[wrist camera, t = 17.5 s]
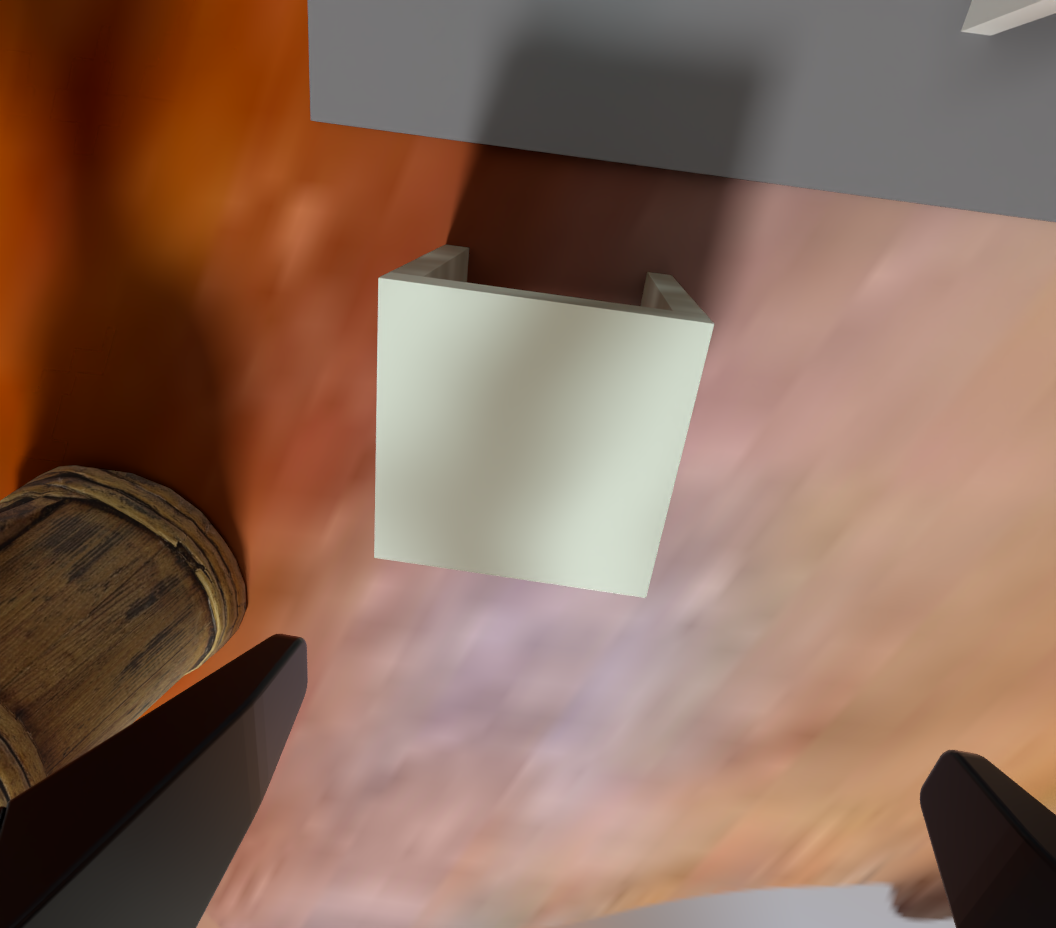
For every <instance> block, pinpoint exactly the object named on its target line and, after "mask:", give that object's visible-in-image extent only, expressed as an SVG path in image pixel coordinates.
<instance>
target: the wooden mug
mask: <svg viewBox="0 0 1056 928" xmlns="http://www.w3.org/2000/svg"><path fill="white" fill-rule="evenodd" d="M245 611H246V595H245V584H244V581H243V578H242V575H241V572H240V569H239V566H238V563H237V561H236V558H235V557H234V555H233V554H232V552H231V550H230V549H229V547H228V546H227V544H226V543H225V541H224V540H223V538H222V537H221V536H220V535H219V533H218V532H217V531H216V529H215V528H214V527H213V526H212V524H211V523H210V522H209V520H208V519H207V518H206V517H205V515H204V514H203V513H202V512H201V511H200V510H198V509H197V508H196V507H194V506H193V505H192V504H190V503H189V502H188V501H186V500H185V499H184V498H182V497H181V496H180V495H178V494H177V493H175V492H174V491H173V490H171V489H170V488H168V487H165V486H163V485H160V484H158V483H155V482H153V481H150V480H148V479H145V478H143V477H140V476H138V475H135V474H133V473H127V472H120V471H112V470H105V469H98V468H90V467H83V466H76V465H71V466H59V467H57V468H55V469H52V470H50V471H48V472H46V473H43V474H41V475H39V476H37V477H36V478H34V479H33V480H31V481H30V482H28V483H27V484H25V485H24V486H22V487H20V488H19V489H17V490H16V491H14V492H13V493H11V494H10V495H8V496H7V497H5V498H4V499H2V500H1V501H0V806H4V807H6V806H7V803H8V802H9V801H10V800H11V799H13V798H14V797H16V796H17V795H19V794H21V793H22V792H24V791H25V790H27V789H29V788H30V787H32V786H33V785H35V784H37V783H38V782H40V781H41V780H43V779H45V778H46V777H48V776H49V775H51V774H53V773H54V772H56V771H57V770H59V769H60V768H62V767H64V766H65V765H67V764H68V763H70V762H72V761H73V760H75V759H76V758H78V757H80V756H81V755H83V754H84V753H86V752H88V751H89V750H91V749H92V748H94V747H96V746H97V745H99V744H100V743H102V742H103V741H105V740H107V739H108V738H110V737H111V736H113V735H115V734H116V733H118V732H119V731H121V730H123V729H124V728H126V727H127V726H129V725H131V724H132V723H133V722H134V721H135V720H137V719H138V718H139V717H140V716H141V715H142V714H143V713H144V712H145V711H146V710H147V709H148V708H149V707H151V706H152V705H153V704H154V703H155V702H156V701H157V700H158V699H159V698H160V697H161V696H162V695H163V694H165V693H166V692H167V691H168V690H169V689H170V688H171V687H172V686H173V685H174V684H175V683H176V682H177V681H178V680H180V679H181V678H182V677H183V676H184V675H186V674H188V673H190V672H191V671H193V670H195V669H197V668H199V667H200V666H201V665H202V664H203V663H204V662H206V661H207V660H208V659H209V658H210V657H211V656H212V655H214V654H215V653H216V652H217V651H218V650H219V649H221V648H222V647H223V646H224V645H225V644H226V643H227V641H228V640H229V639H230V638H231V637H232V636H233V635H234V633H235V632H236V631H237V630H238V629H239V626H240V623H241V621H242V618H243V616H244V613H245Z"/></svg>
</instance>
